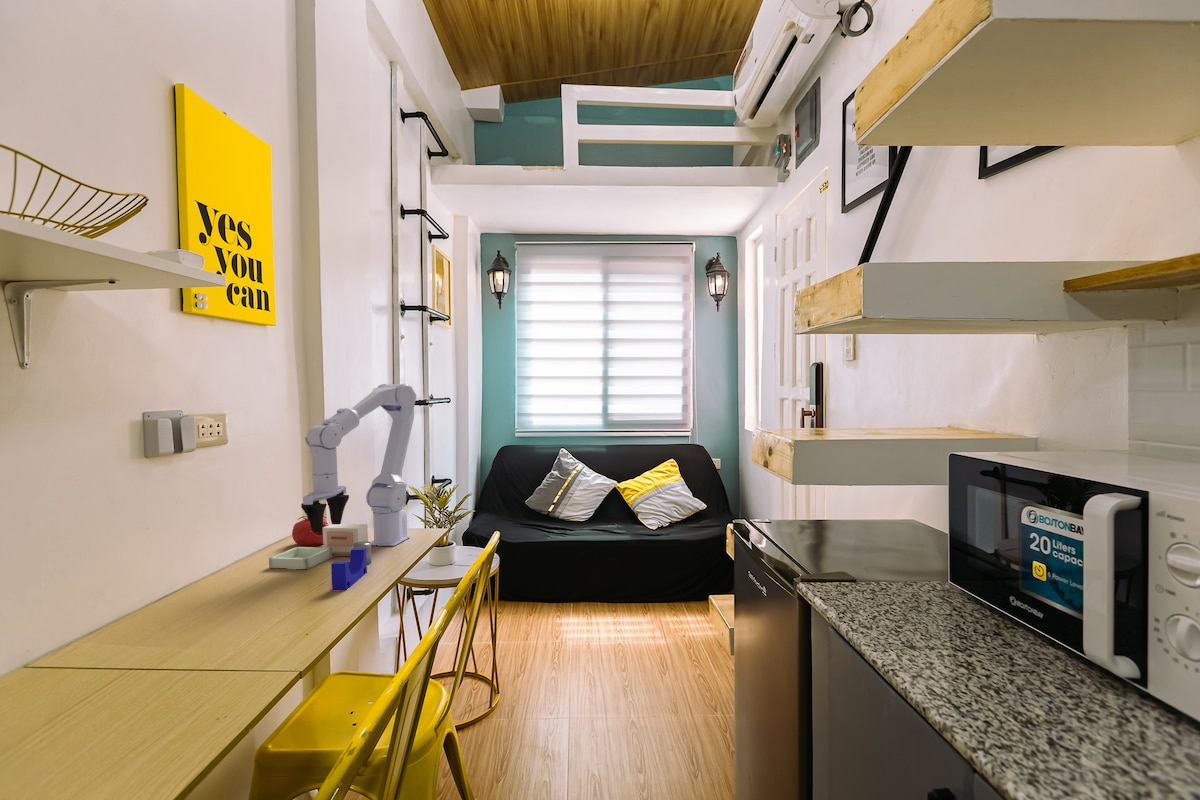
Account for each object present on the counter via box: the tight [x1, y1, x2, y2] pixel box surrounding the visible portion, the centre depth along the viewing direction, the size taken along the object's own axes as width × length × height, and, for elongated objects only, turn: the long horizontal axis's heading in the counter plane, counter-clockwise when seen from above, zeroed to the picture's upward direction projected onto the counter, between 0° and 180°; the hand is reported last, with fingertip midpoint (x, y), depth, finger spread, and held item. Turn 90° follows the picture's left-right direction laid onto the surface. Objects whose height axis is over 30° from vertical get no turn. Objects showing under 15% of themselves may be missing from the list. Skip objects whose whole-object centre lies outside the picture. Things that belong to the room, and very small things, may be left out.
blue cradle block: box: [330, 548, 368, 591], centre depth 136 cm, size 12×4×6 cm, turn 1°
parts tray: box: [268, 546, 333, 570], centre depth 151 cm, size 10×10×2 cm
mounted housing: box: [322, 523, 373, 557], centre depth 159 cm, size 6×12×7 cm, turn 80°
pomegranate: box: [291, 515, 329, 547], centre depth 169 cm, size 10×10×9 cm
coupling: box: [353, 540, 373, 566], centre depth 149 cm, size 4×4×5 cm
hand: (327, 527), depth 152 cm, fingers open, 7 cm apart
